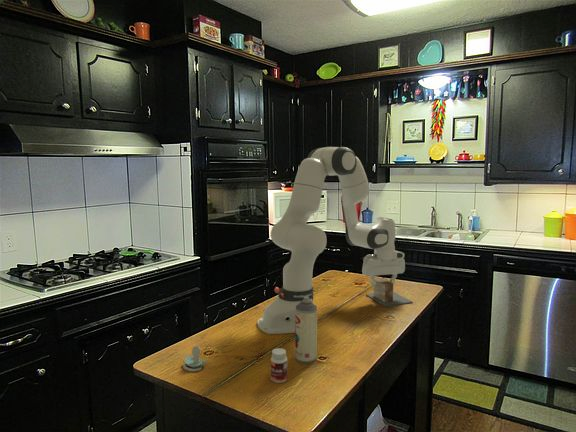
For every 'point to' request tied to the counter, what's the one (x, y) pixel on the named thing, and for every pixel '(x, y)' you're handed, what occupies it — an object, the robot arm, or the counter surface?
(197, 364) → the pacifier
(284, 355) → the pill bottle
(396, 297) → the rubber mat
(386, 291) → the wooden block
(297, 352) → the aerosol can
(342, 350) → the counter surface
